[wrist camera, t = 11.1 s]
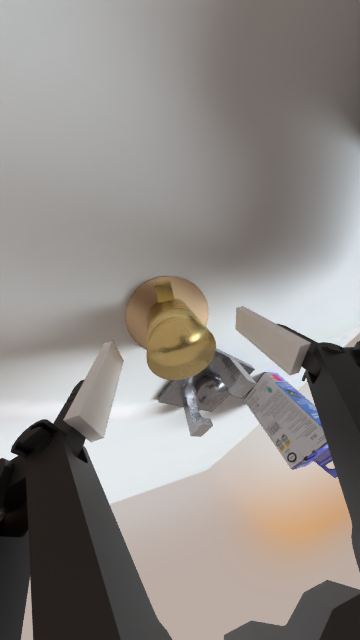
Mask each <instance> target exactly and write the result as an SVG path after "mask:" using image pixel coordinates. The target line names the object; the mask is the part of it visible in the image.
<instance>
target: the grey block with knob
mask: <svg viewBox="0 0 360 640" xmlns="http://www.w3.org/2000/svg"><path fill="white" fill-rule="evenodd" d="M254 370H255V369H254V368H253V367H252V366H251V365H249V364H247V363H245V362H243V361H241V360H239V359H237V358H235V357H233V356H231V355H229V354H226V353H224V352H222V351H220V350H218V349H216V350H215V354H214V357H213V359H212V360H211V362H210V363H209V365H208V366H207V367H206V368H205V369H204V370H202V371H201V372H200V373H198V374H196V375H194V376H192V377H189V378H186V379H182V380H171V382H170V383H169V384H168V385H167V387H166V388H165V389H164V390H163V392H162V393H161V394H160V395H159V397H158V400H159V402H160V403H166V404H171V405H177V406H182V407H184V410H185V414H186V418H187V422H188V427H189V431H190V435H191V436H199V437H201V436H202V435H203V434H205V433H206V432H207V431H208V430H209V429H210V428H211V427H212V426H213V424H212V421H211V419H208V418H201V416H200V413H199V410H204V411H210V412H212V411H213V410H214V409H215V408H216V407H217V406H218V405H219V404H220V403H221V402H222V401H224V400H225V399H226V398H227V397H228V396H229V395H230V394H231V395H232V396H235V397H239V398H242V397H244V396H245V395H246V394H247V393H248V392H249V391H250V390H251V389H252V388H253V387H254V386H255V385H256V384H257V383H256V382H255V381H254V380H253V379H252V378H251V376H250V374H251V373H252V372H253V371H254ZM198 409H199V410H198Z"/></svg>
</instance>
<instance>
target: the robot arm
mask: <svg viewBox="0 0 360 640" xmlns="http://www.w3.org/2000/svg"><path fill="white" fill-rule="evenodd" d="M236 330H237V331H238V332H240V333H241V334H242V335H243V336H244V337H245V338H247V339H248V340H249V341H250V342H251V343H252V344H254V345H255V346H256V347H257V348H258V349H259V350H261V351H262V352H263V353H264V354H265V355H266V356H268V357H269V358H270V359H271V360H272V361H274V362H275V363H276V364H277V365H278V366H279V367H281V368H282V369H283V370H284V371H285V372H286V373H288V374H289V375H293V374H296V373H299V371H300V369H301V366H302V367H303V368H305V369H306V371H305V373H304V375H303V378H302V381H304V380H305V378H307V382H308V384H309V387H310V390H311V394H312V397H313V400H314V403H315V406H316V409H317V413H318V416H319V419H320V422H321V425H322V428H323V431H324V435H325V438H326V441H327V444H328V447H329V450H330V453H331V457H332V460H333V463H334V466H335V469H336V472H337V476H338V479H339V482H340V485H341V488H342V491H343V494H344V498H345V501H346V504H347V507H348V510H349V513H350V517H351V520H352V545H353V549H354V553H355V557H356V561H357V564H358V568H359V571H360V341H359V342H357V343H356V345H355V346H354V347H350V348H349V347H347V348H342V347H340V346H338V345H335V344H332V343H324V342H322V343H317V342H315V341H313V340H312V339H310V338H308V337H306V336H304V335H302V334H300V333H297V332H296V331H294V330H292V329H290V328H288V327H286V326H284V325H280V324H275V323H273V322H271V321H270V320H268V319H266V318H264V317H262V316H260V315H258V314H257V313H255V312H253V311H251V310H249V309H247V308H245V307H244V306H242V307H238V308H236ZM123 361H124V360H123V359H122V357H121V355H120V353H119V351H118V349H117V348H116V346H115V344H114V342H113V340H112V341H109V342H105V343H104V345H103V346H102V348H101V350H100V352H99V354H98V356H97V358H96V360H95V361H94V363H93V365H92V367H91V369H90V371H89V373H88V375H87V376H86V378H85V380H81V381H80V382H79V383H78V384H77V385H76V386H75V388H74V389H73V391H72V393H71V394H70V396H69V398H68V399H67V402H66V403H65V405H64V406H63V408H62V410H61V412H60V413H59V415H58V417H57V418H56V420H55V422H54V424H53V423H51V422H50V421H48V420H40V421H38V422H36V423H34V424H33V425H31V426H30V427H29V428H28V429H26V430H25V431H24V432H23V433H22V434H21V435H20V436H19V437H18V439H17V440H16V441H15V443H14V444H13V446H12V449H11V452H12V453H14V454H16V455H19V456H17V457H15V458H14V459H12V460H10V461H9V460H6V459H4V458H1V459H0V640H21V633H22V626H23V620H24V613H25V606H26V599H27V593H28V586H29V579H30V577H31V599H32V619H33V640H172V639H171V637H170V635H169V634H168V632H167V630H166V629H165V628H164V627H163V626H162V624H161V623H160V622H159V620H158V619H157V617H156V615H155V612H154V610H153V608H152V605H151V603H150V601H149V598H148V597H147V593H146V591H145V589H144V586H143V584H142V582H141V579H140V577H139V574H138V572H137V570H136V567H135V565H134V563H133V560H132V558H131V555H130V553H129V551H128V548H127V546H126V543H125V541H124V538H123V536H122V534H121V531H120V529H119V527H118V524H117V522H116V519H115V517H114V515H113V512H112V510H111V507H110V505H109V503H108V500H107V498H106V495H105V493H104V491H103V488H102V486H101V483H100V481H99V479H98V476H97V474H96V472H95V469H94V467H93V464H92V462H91V460H90V457H89V455H88V452H87V450H86V448H85V447H84V446H83V445H84V442H85V439H87V440H89V441H90V442H93V441H96V440H99V439H102V438H104V434H105V431H106V427H107V423H108V419H109V415H110V411H111V407H112V403H113V400H114V396H115V392H116V388H117V384H118V380H119V376H120V372H121V369H122V365H123ZM224 640H360V590H358V589H355V588H352V587H349V586H345V585H342V584H339V583H336V582H332V581H329V580H326V581H325V582H323V583H321V584H319V585H317V586H315V587H313V588H311V589H310V590H308V591H306V592H304V593H303V595H302V597H301V599H300V601H299V603H298V604H297V606H296V608H295V610H294V612H293V614H292V615H291V618H290V619H289V621H288V623H287V624H286V625H285V626H279V625H273V624H267V623H262V622H256V621H250V622H248V623H246V624H244V625H242V626H240V627H238V628H237V629H235V630H233V631H231V632H229V633H227V634H226V635H224Z"/></svg>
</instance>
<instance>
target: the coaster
mask: <svg viewBox="0 0 360 640" xmlns="http://www.w3.org/2000/svg"><path fill="white" fill-rule="evenodd" d="M168 280H169V281H170V282H171V286H172V291H173V296H174V298H177V299H180V300H182V301H184V302H185V303H186V304H187V305H188V306H189V307H190V308H191V310H192V311H193V312H194V313H195V314H196V316H197V317H198V318H199V319H200V320H201V322H202V323H203V324H204V325H205V326H206V324H207V321H208V314H209V313H208V304H207V301H206V298H205V296H204V295H203V293H202V292H201V290H200V289H199V288H198V287H197V286H195V285H194V284H193V283H191V282H189V281H188V280H185V279H183V278H180V277H175V276H163V277H158V278H154V279H152V280H150V281H147V282H146V283H144V284H143V285H142V286H140V287H139V288H138V289H137V290H136V291H135V292H134V294H133V295H132V297H131V299H130V301H129V303H128V306H127V309H126V325H127V328H128V331H129V333H130V335H131V336H132V338H133V339H134V340H135V341H136V342H137V343H138V344H139V345H141V346H142V347H144V348H146V349H147V316H148V313H149V310H150V309H151V307H152V306H153V305H154V304H155V303H156V302H158V298H157V294H156V291H155V287H154V283H159V282H164V281H168Z"/></svg>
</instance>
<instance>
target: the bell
mask: <svg viewBox="0 0 360 640" xmlns="http://www.w3.org/2000/svg"><path fill="white" fill-rule="evenodd" d="M154 287H155V291H156V294H157V298H158V302H156V303H155V304H154V305H153V306H152V307H151V309H150V310H149V313H148V316H147V363H148V366H149V368H150V369H151V371H152V372H153V373H154V374H155V375H157V376H159V377H161V378H163V379H167V380H182V379H186V378H189V377H192V376H194V375H196V374H198V373H200V372H201V371H202V370H204V369H205V368H206V367H207V366H208V365H209V363H210V362H211V360H212V359H213V357H214V354H215V350H216V343H215V339H214V337H213V335H212V334H211V332H210V331H209V330H208V329H207V328H206V326H205V325H204V324H203V323H202V322H201V320H200V319H199V318H198V317H197V316H196V314H195V313H194V312H193V311H192V310H191V308H190V307H189V306H188V305H187V304H186V303H185V302H184V301H182V300H180V299H177V298H174V296H173V291H172V286H171V282H170V281H169V280H168V281H164V282H159V283H154Z"/></svg>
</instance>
